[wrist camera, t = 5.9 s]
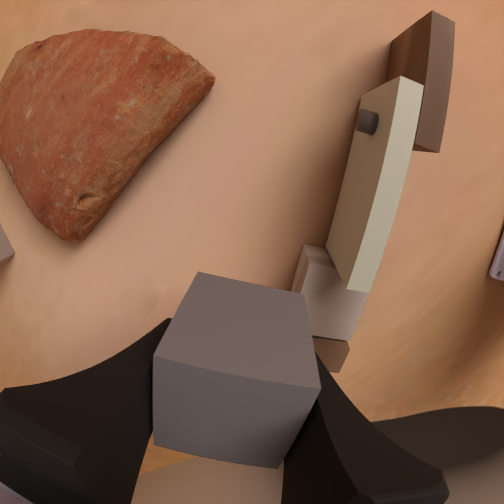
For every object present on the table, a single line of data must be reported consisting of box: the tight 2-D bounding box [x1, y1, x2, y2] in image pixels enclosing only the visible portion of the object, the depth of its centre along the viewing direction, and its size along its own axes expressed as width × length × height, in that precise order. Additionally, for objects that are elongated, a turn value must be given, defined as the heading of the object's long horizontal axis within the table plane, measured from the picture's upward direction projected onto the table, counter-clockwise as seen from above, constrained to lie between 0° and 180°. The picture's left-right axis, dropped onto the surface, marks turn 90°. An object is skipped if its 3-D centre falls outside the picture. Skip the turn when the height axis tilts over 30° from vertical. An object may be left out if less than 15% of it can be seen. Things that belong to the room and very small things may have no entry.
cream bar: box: [325, 76, 424, 293], centre depth 15 cm, size 2×10×6 cm, turn 168°
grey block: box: [153, 272, 321, 469], centre depth 10 cm, size 4×4×5 cm
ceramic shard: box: [0, 29, 216, 242], centre depth 16 cm, size 15×6×15 cm
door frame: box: [290, 11, 455, 373], centre depth 16 cm, size 4×22×6 cm, turn 169°
